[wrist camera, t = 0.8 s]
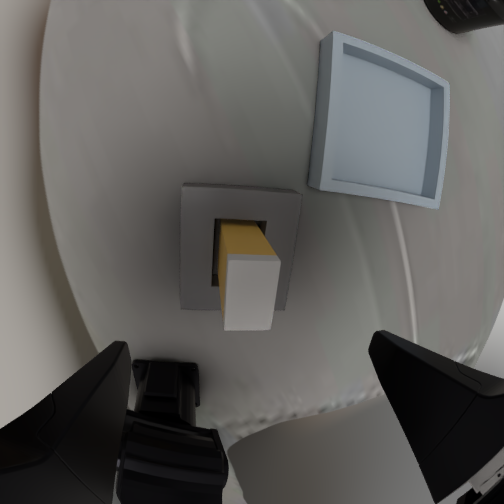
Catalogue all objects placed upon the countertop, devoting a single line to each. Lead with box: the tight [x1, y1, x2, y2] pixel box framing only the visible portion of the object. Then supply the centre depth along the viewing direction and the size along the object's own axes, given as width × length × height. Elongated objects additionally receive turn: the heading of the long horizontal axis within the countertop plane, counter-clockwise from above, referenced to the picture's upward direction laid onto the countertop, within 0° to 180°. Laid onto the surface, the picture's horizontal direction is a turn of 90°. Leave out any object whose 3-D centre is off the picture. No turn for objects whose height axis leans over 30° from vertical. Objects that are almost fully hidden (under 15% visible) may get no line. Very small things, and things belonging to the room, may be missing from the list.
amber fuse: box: [217, 219, 281, 331], centre depth 17 cm, size 4×2×8 cm, turn 174°
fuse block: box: [180, 183, 302, 310], centre depth 20 cm, size 9×8×2 cm
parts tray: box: [307, 31, 450, 210], centre depth 18 cm, size 12×12×2 cm
